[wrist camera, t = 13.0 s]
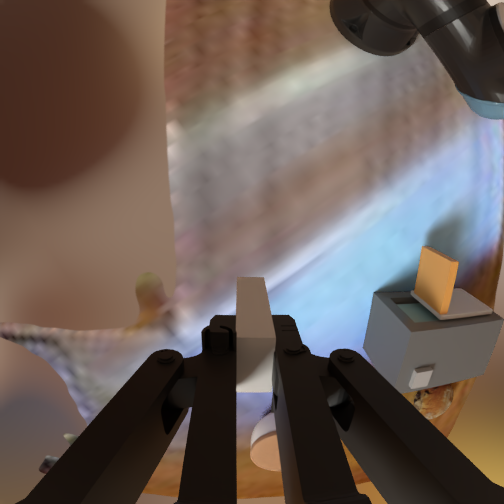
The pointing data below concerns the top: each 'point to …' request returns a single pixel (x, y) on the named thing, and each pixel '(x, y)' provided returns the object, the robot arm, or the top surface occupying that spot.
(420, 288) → the door
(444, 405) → the bread roll
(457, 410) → the top surface
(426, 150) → the top surface
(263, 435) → the lidded bowl
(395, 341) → the box
